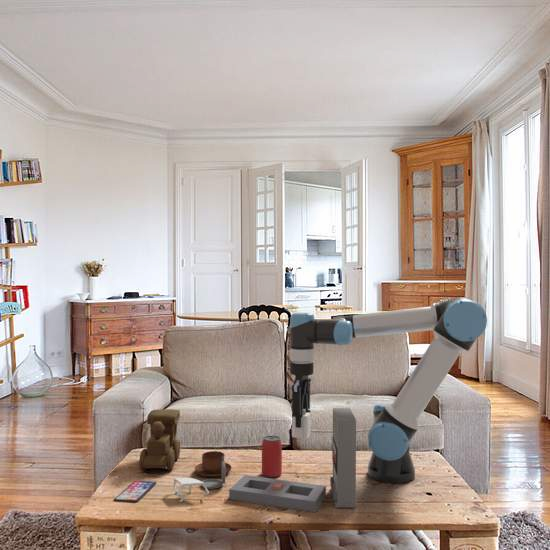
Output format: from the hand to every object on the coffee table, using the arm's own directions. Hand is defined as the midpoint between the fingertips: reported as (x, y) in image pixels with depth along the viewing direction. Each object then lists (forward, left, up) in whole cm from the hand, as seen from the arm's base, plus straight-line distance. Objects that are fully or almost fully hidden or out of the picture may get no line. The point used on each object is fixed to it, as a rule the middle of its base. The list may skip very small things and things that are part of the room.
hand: (301, 435), depth 179 cm
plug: (0, 0, 0) cm, 0 cm away
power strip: (+3, +15, -15) cm, 21 cm away
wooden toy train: (+50, +1, -15) cm, 52 cm away
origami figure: (+27, +23, -15) cm, 39 cm away
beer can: (+11, -2, -15) cm, 18 cm away
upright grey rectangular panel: (-15, +9, -15) cm, 23 cm away
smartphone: (+44, +25, -15) cm, 53 cm away
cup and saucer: (+29, +3, -15) cm, 33 cm away
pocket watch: (+24, +13, -15) cm, 31 cm away
